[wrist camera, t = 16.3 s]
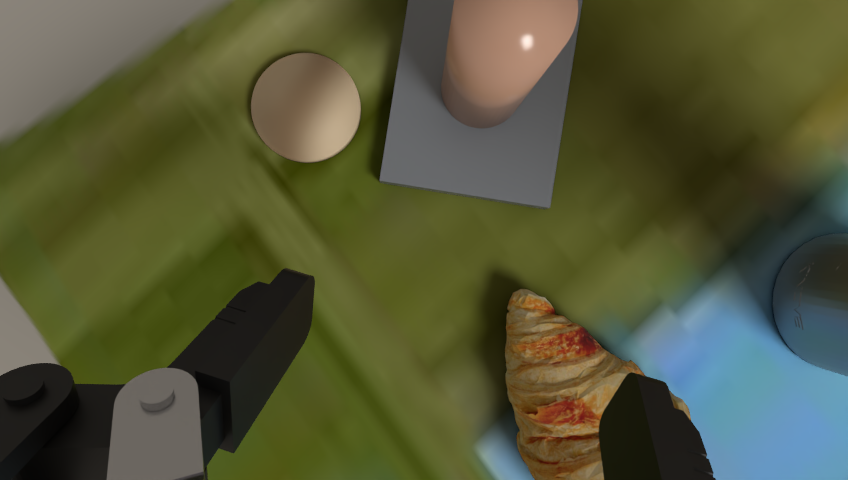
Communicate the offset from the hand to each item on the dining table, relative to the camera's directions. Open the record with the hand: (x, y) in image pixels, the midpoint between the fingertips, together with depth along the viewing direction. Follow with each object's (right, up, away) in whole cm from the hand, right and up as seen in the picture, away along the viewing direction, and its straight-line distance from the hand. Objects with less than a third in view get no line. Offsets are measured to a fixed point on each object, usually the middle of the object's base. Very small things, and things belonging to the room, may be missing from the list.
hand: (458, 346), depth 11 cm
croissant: (+10, -10, +19) cm, 24 cm away
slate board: (+3, +12, +19) cm, 23 cm away
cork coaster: (-9, +11, +18) cm, 23 cm away
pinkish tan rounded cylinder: (+3, +12, +18) cm, 22 cm away
